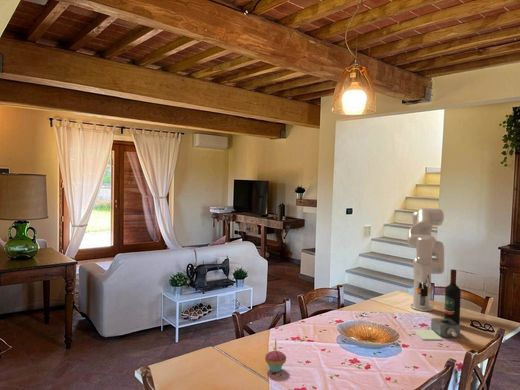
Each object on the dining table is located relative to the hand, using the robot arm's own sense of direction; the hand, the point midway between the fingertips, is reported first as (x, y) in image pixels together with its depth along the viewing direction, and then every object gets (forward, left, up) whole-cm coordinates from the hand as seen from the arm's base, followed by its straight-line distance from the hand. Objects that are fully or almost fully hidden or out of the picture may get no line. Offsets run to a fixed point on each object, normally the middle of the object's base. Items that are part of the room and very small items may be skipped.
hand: (422, 294), depth 203 cm
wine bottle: (-5, +19, -18) cm, 26 cm away
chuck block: (+10, +9, -18) cm, 22 cm away
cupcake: (+49, -80, -18) cm, 96 cm away
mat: (+11, -2, -18) cm, 21 cm away
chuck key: (0, 0, -6) cm, 6 cm away
